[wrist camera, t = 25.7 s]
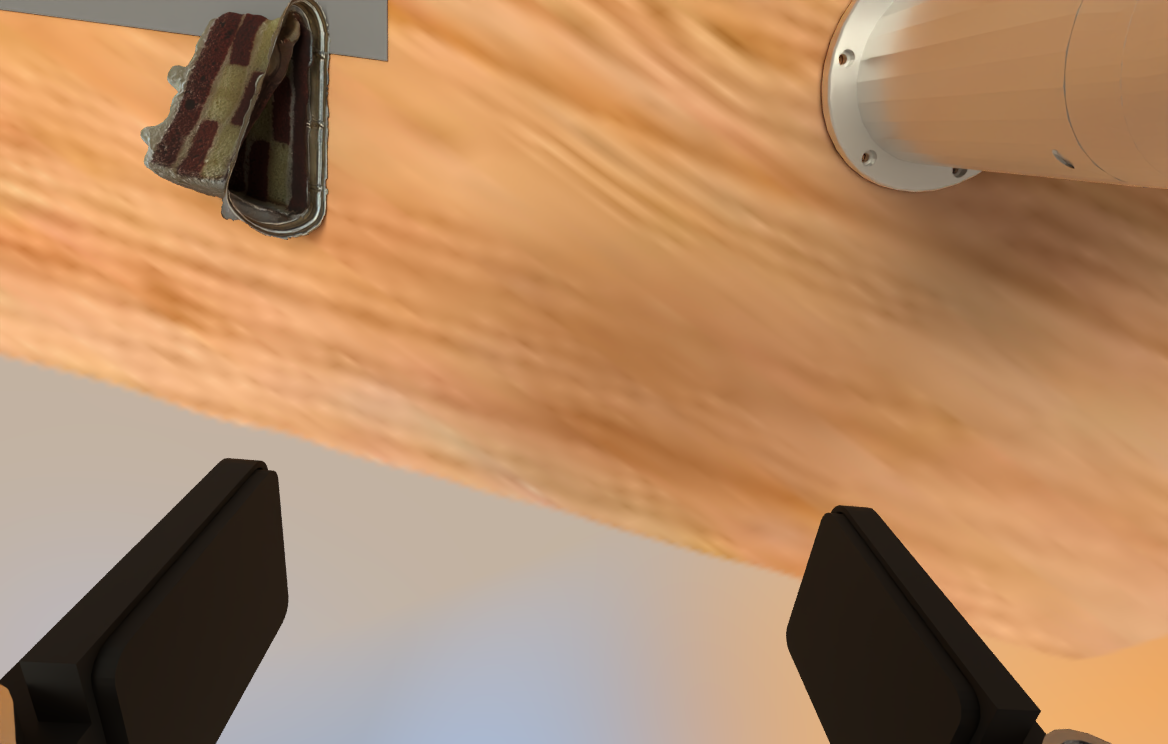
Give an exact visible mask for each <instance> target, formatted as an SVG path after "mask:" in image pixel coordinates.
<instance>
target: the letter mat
mask: <svg viewBox="0 0 1168 744" xmlns="http://www.w3.org/2000/svg"><path fill="white" fill-rule="evenodd" d="M290 1H291V0H0V9H1V10H8V11H16V12H23V13H31V14H38V15H46V16H53V17H61V18H68V19H76V20H83V21H91V22H98V23H106V24H113V25H121V26H128V27H136V28H143V29H151V30H158V31H166V32H173V33H181V34H188V35H196V36H201V35H202V33H203V32H204V30H205V29H206V27H207V25H208V24H209V21H210V20H211V19H214V18H217V17H219V16H221V15H222V14H225V13H227V12H234V13H238V14H246V13H250V14H253V15H262V16H264V17H266V18H267V19H269V20H274V19H276V18H279V17H281V15H282V14H283V11H284V10H285V8H286V7H287V6H288V3H290ZM314 1H315V2H318V5H320V6H321V7H322V11H323V12H324V14H325V17H326V22H327V24H328V26H327V31H328V30H329V31H328V32H327V33H329V34H330V36H329V38H330V40H331V42H330V43H329V45H330V46H329V53H331V54H339V55H346V56H354V57H361V58H369V59H376V60H384V61H388V12H387V0H314Z"/></svg>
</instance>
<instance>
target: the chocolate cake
mask: <svg viewBox="0 0 1168 744" xmlns="http://www.w3.org/2000/svg"><path fill="white" fill-rule="evenodd" d="M327 26H328V24H327V22H326V17H325V14H324V12H323V11H322V7H321V6H320V5H318V2H315V1H314V0H291V1H290V3H288V6H287V7H286V8H285V10H284V11H283V14H282V15H281V17H279V18H276V19H274V20H269V19H267V18H266V17H264V16H262V15H253V14H250V13H246V14H238V13H234V12H227V13H225V14H222V15H221V16H219V17H217V18H214V19H211V20H210V21H209V24H208V25H207V27H206V29H205V30H204V32H203V33H202V35H201V37H200V39H199V41H198V43H197V45H196V50H195V54H194V56H193V58H192V59H191V61H190V63H189V65H188V66H187V67H182V66H173V67H172V68H171V69H170V71H169V73H168V77H167V80H168V82H169V83H170V84H171V85H172V86H173V87H174V88H175V89H176V90H177V91H178V93H177V94H176V95H175V96H174V98H173V100H172V104H171V107H170V113H169V115H168V117H167V118H166V119H165V121H164V122H162V123H160V124H159V125H157V126H151V127H146V128H144V129H143V130H142V131H141V138H142V140H143V141H144V142H145V143H146V144H147V145H148V146H149V147H148V151H147V153H146V155H145V158H144V164H145V166H146V167H147V168H149V169H150V170H152V171H153V172H154V173H156V174H157V175H158V176H160V177H162V178H164V179H166V180H168V181H171V182H172V183H175V184H177V185H180V186H183V187H185V188H189V189H192V190H195V191H197V192H200V193H204V194H206V195H210V196H214V197H215V196H217V197H219V198H222V201H223V204H222V210H221V214H222V217H223V218H225V219H226V220H228V219H229V218H230V219H232V220H233V221H234V220H237V219H238V220H241V221H243V222H245V223H246V224H248V225H249V226H250V227H251V228H253V229H255V230H256V231H258V232H261V233H262V234H264V235H268V236H271V237H272V236H273V237H278V238H281V239H286V240H288V237H289V238H291V237H295V238H296V237H299V236H303V235H309V233H310V232H312V231H314V229H317V227H319V225H321V223H322V222H321V221H322V219H323V216H324V215H325V212H326V194H328V189H326V188H325V187H326V186H325V180H326V179H327V139H328V136H327V135H328V128H327V125H328V121H327V117H329V113H328V107H327V98H326V96H327V94H328V93H327V89H328V87H327V85H328V71H327V70H328V60H329V46H330V45H329V43H330V42H331V40H330V38H329V36H330V34H329V33H327V32H328V31H329V30H328V31H327Z"/></svg>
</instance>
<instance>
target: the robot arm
mask: <svg viewBox="0 0 1168 744" xmlns="http://www.w3.org/2000/svg"><path fill="white" fill-rule="evenodd" d="M840 55H842V56H843V63H842V64H841V65H840V64H839V56H840ZM822 105H823V114H824V118H825V122H826V126H827V130H828V133H829V135H830V137H831V139H832V141H833V143H834V146H835V148H836V150H837V151H838V153H839V154H840V155H841V156H842V158H843V159H844V160H845V162H846V163H847V164H848V165H849V166H850V167H851V168H852V169H853V170H855V171H856V172H857V173H858V174H859V175H861V176H862V177H863V178H865V179H867V180H869V181H871V182H873V183H875V184H877V185H879V186H883V187H887V188H891V189H895V190H901V191H910V192H924V191H936V190H939V189H943V188H947V187H950V186H954V185H957V184H959V183H961V182H963V181H966V180H968V179H970V178H972V177H974V176H976V175H978V174H979V173H981V172H982V171H990V172H1000V173H1010V174H1019V175H1029V176H1039V177H1049V178H1058V179H1068V180H1078V181H1088V182H1097V183H1107V184H1117V185H1126V186H1136V187H1151V188H1161V189H1168V0H852V2H851V3H850V5H849V6H848V8H847V9H846V11H845V12H844V14H843V15H842V17H841V19H840V22H839V24H838V26H837V28H836V30H835V33H834V35H833V37H832V39H831V42H830V46H829V49H828V53H827V56H826V60H825V63H824V71H823V79H822ZM864 153H865V155H866V158H865V160H864V161H863V162H862V156H863V154H864ZM953 168H954V170H953ZM952 171H953V172H952ZM287 607H288V587H287V575H286V565H285V552H284V540H283V529H282V517H281V505H280V494H279V482H278V476H277V473H276V472H275V471H271V470H268V468H267V465H266V464H265V463H264V462H263V461H256V460H244V459H231V458H226V459H223V460H222V461H220V462H219V463H218V464H217V465H216V466H215V467H214V468H213V469H212V470H211V471H210V472H209V473H208V474H207V475H206V476H205V477H204V478H203V479H202V480H201V481H200V482H199V483H198V484H197V485H196V486H195V487H194V488H193V489H192V490H191V491H190V492H189V493H188V494H187V495H186V496H185V497H184V498H183V499H182V500H181V501H180V502H179V503H178V504H177V505H176V506H175V507H174V508H173V509H172V510H171V511H170V512H169V513H168V514H167V515H166V516H165V517H164V518H163V519H162V520H161V521H160V522H159V523H158V524H157V525H156V526H155V527H154V528H153V529H152V530H151V531H150V532H149V533H148V534H147V535H146V536H145V537H144V538H143V539H142V540H141V541H140V542H139V543H138V544H137V545H135V546H134V547H133V548H132V549H131V550H130V551H129V552H128V554H126V555H125V556H124V557H123V558H122V559H121V560H120V561H119V562H118V563H117V564H116V565H115V566H114V567H113V568H112V569H111V570H110V571H109V572H108V573H107V574H106V575H105V576H104V577H103V578H102V579H101V580H100V581H99V582H98V583H97V584H96V585H95V586H94V587H93V588H92V589H91V590H90V591H89V592H88V593H87V594H86V595H85V596H84V597H83V598H82V599H81V600H80V601H79V602H78V603H77V604H76V605H75V606H74V607H73V608H72V609H71V610H70V611H69V612H68V613H67V614H66V615H65V616H64V617H63V618H62V619H61V620H60V621H59V622H58V623H57V624H56V625H55V626H54V627H53V628H52V629H51V630H50V631H49V632H48V633H47V634H46V635H45V636H44V637H43V638H42V639H41V640H40V641H39V642H38V643H37V644H36V645H35V646H34V647H33V648H32V649H31V650H30V651H29V652H28V653H27V654H26V655H25V656H24V657H23V658H22V659H21V660H20V661H19V662H18V663H17V664H16V665H15V666H14V667H13V668H12V669H11V670H10V671H9V672H8V673H7V674H6V675H5V676H4V677H3V678H2V679H1V680H0V744H216V742H217V740H218V739H219V737H220V735H221V733H222V731H223V729H224V728H225V726H226V724H227V722H228V720H229V719H230V716H231V715H232V713H233V711H234V710H235V708H236V706H237V704H238V702H239V701H240V699H241V697H242V695H243V693H244V691H245V690H246V688H247V686H248V684H249V682H250V681H251V679H252V677H253V675H254V673H255V672H256V670H257V668H258V666H259V664H260V663H261V661H262V659H263V657H264V655H265V654H266V652H267V650H268V648H269V646H270V644H271V643H272V641H273V639H274V637H275V635H276V634H277V632H278V630H279V628H280V626H281V624H282V623H283V620H284V618H285V615H286V612H287ZM786 639H787V646H788V649H789V652H790V654H791V656H792V659H793V661H794V663H795V665H796V667H797V670H798V672H799V674H800V677H801V679H802V681H803V683H804V685H805V688H806V690H807V692H808V695H809V697H810V699H811V701H812V703H813V706H814V708H815V710H816V713H817V715H818V717H819V719H820V722H821V724H822V726H823V728H824V731H825V733H826V735H827V737H828V739H829V742H830V744H1111V743H1109V742H1106V741H1104V740H1102V739H1100V738H1097V737H1095V736H1093V735H1090V734H1088V733H1084V732H1080V731H1075V730H1071V729H1060V730H1053V731H1052V732H1050V733H1049V734H1047V735H1046V733H1045V732H1044V731H1043V730H1042V728H1041V727H1040V726H1039V725H1038V723H1037V722H1036V719H1037V717H1038V715H1039V713H1040V712H1041V710H1040V709H1039V708H1038V707H1037V706H1036V704H1035V703H1034V702H1033V701H1032V700H1031V698H1030V697H1029V696H1028V695H1027V694H1026V693H1025V691H1024V690H1023V689H1022V688H1021V687H1020V685H1019V684H1018V683H1017V682H1016V680H1015V679H1014V678H1013V677H1012V675H1010V673H1009V672H1008V671H1007V669H1006V668H1005V667H1004V666H1003V665H1002V663H1001V662H1000V661H999V660H998V659H997V657H996V656H995V655H994V654H993V653H992V651H991V650H990V649H989V648H988V647H987V645H986V644H985V643H984V642H983V640H982V639H981V638H980V637H979V636H978V634H977V633H976V632H975V631H974V630H973V628H972V627H971V626H970V625H969V624H968V622H967V621H966V620H965V619H964V618H963V616H962V615H961V614H960V613H959V612H958V610H957V609H956V608H955V607H954V605H953V604H952V603H951V602H950V601H949V599H948V598H947V597H946V596H945V595H944V593H943V592H942V591H941V590H940V589H939V587H938V586H937V585H936V584H935V583H934V581H933V580H932V579H931V578H930V577H929V575H928V574H927V573H926V572H925V571H924V569H923V568H922V567H921V566H920V564H919V563H918V562H917V561H916V560H915V558H914V557H913V556H912V555H911V554H910V552H909V551H908V550H907V549H906V548H905V546H904V545H903V544H902V543H901V542H900V540H899V539H898V538H897V537H896V536H895V534H894V533H893V532H892V531H891V530H890V528H889V527H888V526H887V525H886V523H885V522H884V521H883V520H882V519H881V517H880V516H879V515H878V514H877V513H876V512H875V511H874V510H873V509H871V508H867V507H854V506H841V505H839V506H836V507H835V508H834V509H833V510H832V512H831V513H826V514H825V515H824V516H823V518H822V520H821V523H820V526H819V529H818V532H817V535H816V538H815V541H814V545H813V548H812V551H811V554H810V557H809V560H808V563H807V567H806V570H805V573H804V576H803V579H802V582H801V585H800V589H799V592H798V595H797V598H796V601H795V604H794V607H793V610H792V613H791V617H790V620H789V623H788V626H787V632H786Z"/></svg>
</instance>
